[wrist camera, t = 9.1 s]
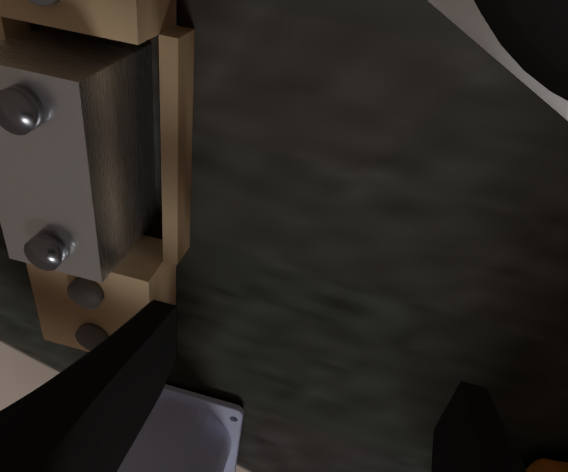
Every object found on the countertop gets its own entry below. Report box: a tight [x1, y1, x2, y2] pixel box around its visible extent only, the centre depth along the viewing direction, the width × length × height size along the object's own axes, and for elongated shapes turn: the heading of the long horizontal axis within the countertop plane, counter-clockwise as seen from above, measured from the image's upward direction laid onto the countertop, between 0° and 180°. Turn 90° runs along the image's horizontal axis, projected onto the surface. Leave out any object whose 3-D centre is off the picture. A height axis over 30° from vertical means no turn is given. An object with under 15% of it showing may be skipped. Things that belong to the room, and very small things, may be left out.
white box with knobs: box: [0, 26, 156, 283], centre depth 19 cm, size 8×4×6 cm, turn 173°
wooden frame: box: [0, 0, 195, 352], centre depth 20 cm, size 22×7×3 cm, turn 173°
